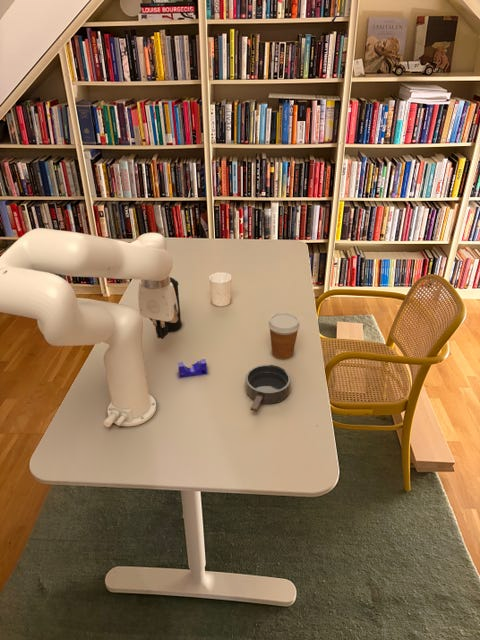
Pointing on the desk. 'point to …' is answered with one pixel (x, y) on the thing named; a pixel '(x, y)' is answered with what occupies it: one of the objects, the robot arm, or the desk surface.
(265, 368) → the pan
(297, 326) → the disposable coffee cup
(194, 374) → the cable holder
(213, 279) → the white cup
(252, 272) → the desk surface
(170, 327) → the aerosol can
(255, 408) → the pan handle
